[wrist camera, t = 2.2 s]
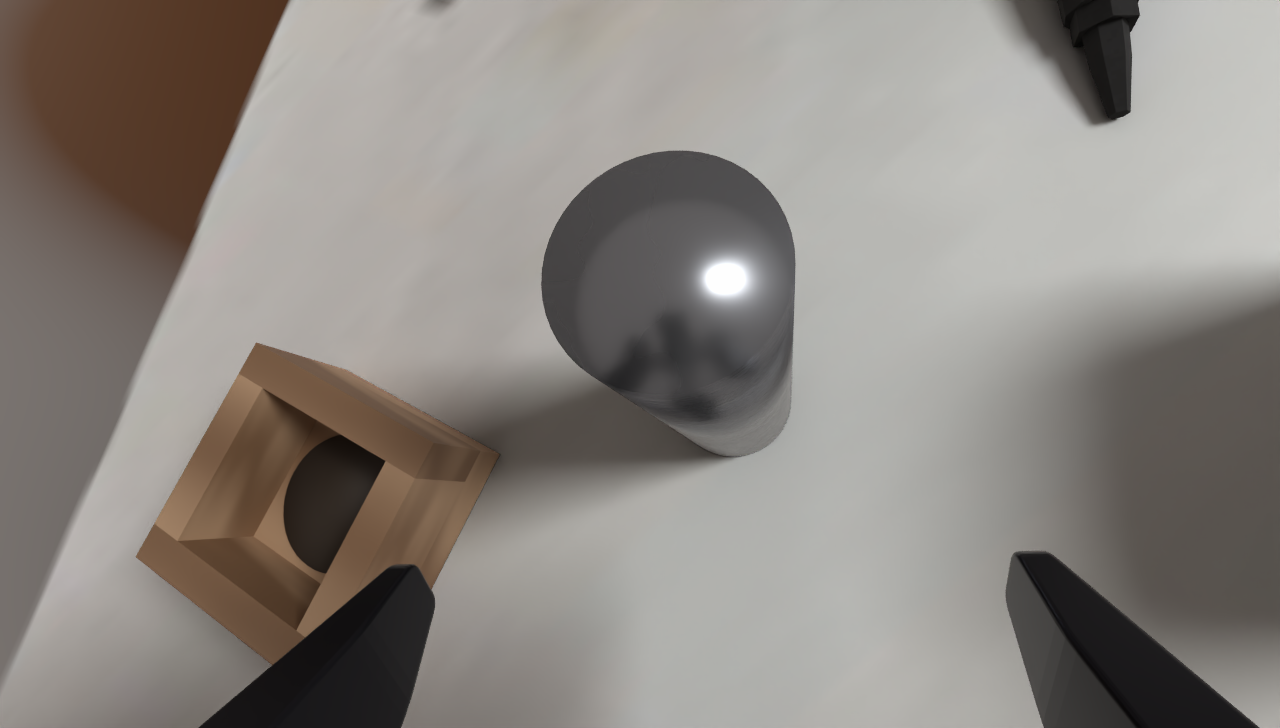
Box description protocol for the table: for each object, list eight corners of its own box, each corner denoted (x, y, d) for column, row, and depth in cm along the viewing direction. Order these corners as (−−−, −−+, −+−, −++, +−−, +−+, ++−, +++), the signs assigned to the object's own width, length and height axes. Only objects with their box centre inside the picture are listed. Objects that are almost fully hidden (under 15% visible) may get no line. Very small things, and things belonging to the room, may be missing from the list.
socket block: (398, 654, 22) (304, 690, 18) (249, 547, 24) (135, 556, 20) (499, 454, 23) (433, 442, 19) (346, 370, 25) (256, 342, 21)
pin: (761, 476, 20) (724, 440, 9) (657, 426, 22) (499, 333, 10) (810, 370, 21) (839, 195, 9) (705, 326, 22) (609, 122, 10)
